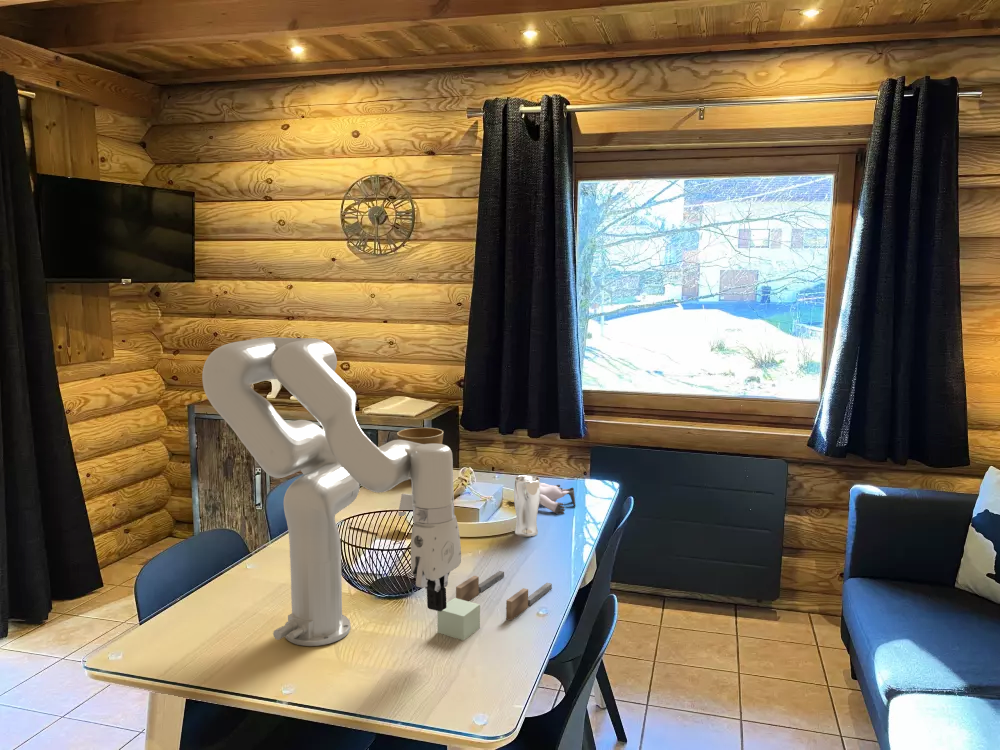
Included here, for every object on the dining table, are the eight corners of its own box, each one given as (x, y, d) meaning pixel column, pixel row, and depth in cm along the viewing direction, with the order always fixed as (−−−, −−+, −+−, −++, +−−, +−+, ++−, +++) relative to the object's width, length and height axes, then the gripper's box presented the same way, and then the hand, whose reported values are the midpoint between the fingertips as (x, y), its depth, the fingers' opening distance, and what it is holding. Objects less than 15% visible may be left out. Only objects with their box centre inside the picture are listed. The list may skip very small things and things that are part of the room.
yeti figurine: (579, 502, 242) (515, 496, 246) (580, 480, 242) (516, 475, 246) (572, 516, 223) (503, 510, 227) (573, 493, 222) (504, 487, 226)
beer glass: (544, 531, 210) (545, 477, 207) (531, 539, 204) (532, 483, 202) (521, 526, 213) (522, 473, 211) (508, 534, 207) (509, 479, 205)
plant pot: (430, 471, 267) (430, 425, 264) (451, 482, 254) (451, 434, 252) (389, 477, 259) (389, 430, 256) (410, 489, 246) (409, 439, 244)
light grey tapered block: (421, 535, 206) (421, 498, 204) (398, 532, 208) (398, 495, 207) (427, 531, 209) (427, 494, 208) (405, 527, 212) (404, 491, 210)
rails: (530, 605, 165) (530, 600, 165) (476, 591, 172) (476, 586, 172) (551, 588, 174) (551, 583, 174) (499, 575, 180) (499, 570, 180)
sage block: (463, 641, 150) (463, 616, 149) (437, 633, 153) (437, 609, 152) (479, 628, 155) (480, 604, 154) (454, 621, 158) (454, 597, 157)
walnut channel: (511, 620, 158) (511, 601, 158) (455, 604, 165) (456, 586, 165) (527, 607, 164) (528, 589, 164) (473, 593, 171) (474, 575, 171)
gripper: (426, 527, 134) (429, 629, 137) (473, 504, 147) (475, 597, 149) (391, 521, 138) (395, 620, 140) (440, 498, 151) (443, 589, 153)
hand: (437, 608), depth 145 cm, fingers closed
